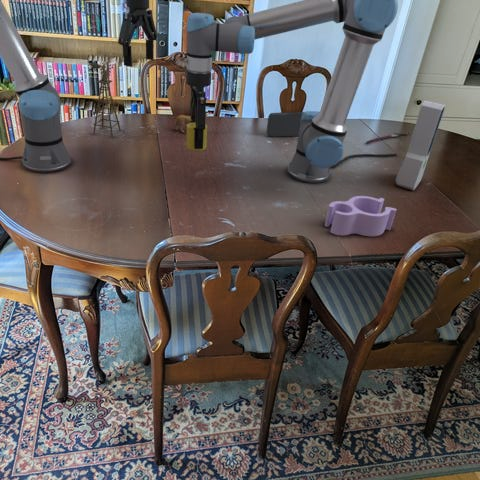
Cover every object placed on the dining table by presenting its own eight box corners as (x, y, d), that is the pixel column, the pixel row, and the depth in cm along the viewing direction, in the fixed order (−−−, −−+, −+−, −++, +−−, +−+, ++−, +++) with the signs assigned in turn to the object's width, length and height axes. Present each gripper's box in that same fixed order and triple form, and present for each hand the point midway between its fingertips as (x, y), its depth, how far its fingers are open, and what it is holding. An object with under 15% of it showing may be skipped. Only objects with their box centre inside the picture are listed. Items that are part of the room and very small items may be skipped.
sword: (404, 132, 223) (404, 129, 222) (409, 134, 221) (409, 132, 220) (360, 143, 207) (361, 141, 206) (365, 146, 205) (366, 143, 204)
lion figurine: (203, 128, 203) (204, 107, 198) (207, 132, 199) (208, 111, 194) (170, 129, 198) (170, 108, 193) (173, 133, 194) (173, 112, 189)
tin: (210, 146, 153) (211, 125, 150) (200, 152, 148) (200, 130, 144) (192, 141, 156) (193, 120, 152) (182, 147, 150) (182, 126, 147)
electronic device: (413, 191, 168) (440, 109, 151) (393, 185, 171) (417, 104, 154) (421, 180, 177) (448, 101, 161) (402, 174, 180) (426, 96, 164)
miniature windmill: (112, 137, 184) (107, 58, 168) (92, 134, 185) (85, 54, 169) (121, 130, 192) (117, 53, 176) (102, 127, 193) (96, 50, 177)
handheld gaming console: (312, 133, 210) (316, 111, 205) (315, 135, 208) (319, 113, 203) (265, 134, 203) (268, 112, 198) (267, 137, 201) (270, 114, 196)
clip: (337, 240, 135) (342, 219, 131) (318, 218, 145) (322, 198, 141) (395, 233, 141) (402, 213, 137) (373, 213, 151) (378, 194, 147)
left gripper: (124, -2, 141) (127, 70, 153) (167, -6, 161) (166, 58, 172) (104, -5, 143) (108, 66, 155) (148, -9, 163) (149, 55, 175)
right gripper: (181, 62, 146) (180, 133, 158) (191, 79, 130) (189, 156, 143) (205, 63, 148) (202, 133, 160) (218, 79, 132) (213, 155, 145)
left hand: (139, 62), depth 164 cm, fingers open, 13 cm apart
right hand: (196, 143), depth 151 cm, fingers closed on tin, 7 cm apart
